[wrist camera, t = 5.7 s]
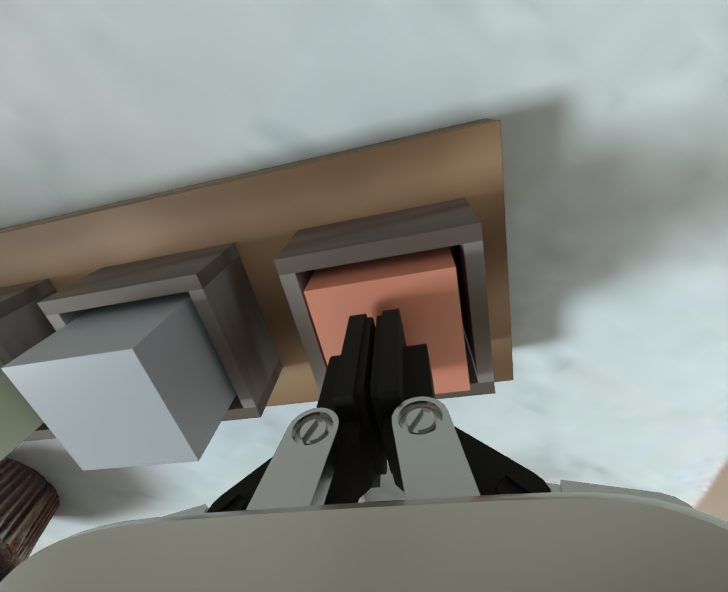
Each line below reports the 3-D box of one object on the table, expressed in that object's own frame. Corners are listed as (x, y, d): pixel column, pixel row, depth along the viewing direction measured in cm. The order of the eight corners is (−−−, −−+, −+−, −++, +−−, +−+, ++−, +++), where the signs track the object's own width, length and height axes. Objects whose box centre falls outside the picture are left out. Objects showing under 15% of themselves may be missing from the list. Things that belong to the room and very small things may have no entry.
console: (-65, 244, 21) (-224, 291, 16) (485, 118, 16) (529, 125, 10) (57, 404, 26) (-32, 481, 21) (501, 350, 21) (535, 435, 15)
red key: (325, 250, 16) (303, 291, 12) (442, 228, 15) (455, 266, 12) (351, 345, 18) (339, 403, 15) (455, 331, 17) (470, 390, 14)
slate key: (90, 308, 16) (0, 368, 12) (196, 290, 15) (131, 348, 11) (145, 398, 18) (82, 470, 14) (240, 386, 17) (198, 461, 13)
